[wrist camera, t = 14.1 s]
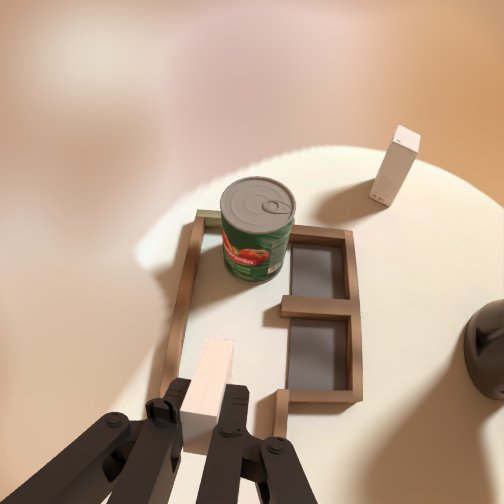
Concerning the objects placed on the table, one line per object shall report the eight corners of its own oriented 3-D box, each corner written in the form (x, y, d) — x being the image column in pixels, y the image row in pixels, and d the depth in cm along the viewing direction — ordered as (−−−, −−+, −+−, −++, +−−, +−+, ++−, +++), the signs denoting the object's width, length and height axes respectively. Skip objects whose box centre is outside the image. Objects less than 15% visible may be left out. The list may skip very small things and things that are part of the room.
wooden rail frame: (353, 454, 28) (360, 455, 26) (158, 441, 28) (153, 441, 26) (347, 233, 44) (351, 223, 42) (198, 219, 44) (197, 209, 43)
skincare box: (390, 208, 47) (418, 153, 37) (367, 197, 48) (391, 140, 38) (396, 187, 50) (421, 135, 40) (375, 176, 51) (397, 123, 41)
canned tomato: (216, 277, 40) (209, 223, 30) (232, 228, 44) (231, 170, 35) (277, 290, 39) (289, 239, 30) (288, 240, 43) (300, 183, 34)
